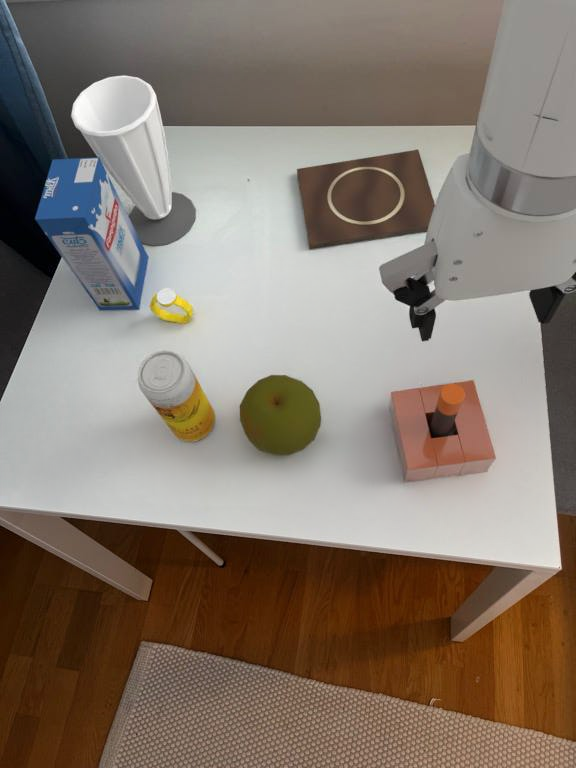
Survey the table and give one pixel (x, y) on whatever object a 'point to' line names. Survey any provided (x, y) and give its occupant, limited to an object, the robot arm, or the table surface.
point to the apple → (280, 415)
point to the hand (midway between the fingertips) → (479, 317)
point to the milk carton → (93, 232)
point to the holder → (443, 454)
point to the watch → (167, 299)
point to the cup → (135, 154)
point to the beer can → (176, 395)
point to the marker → (446, 410)
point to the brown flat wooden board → (365, 199)
